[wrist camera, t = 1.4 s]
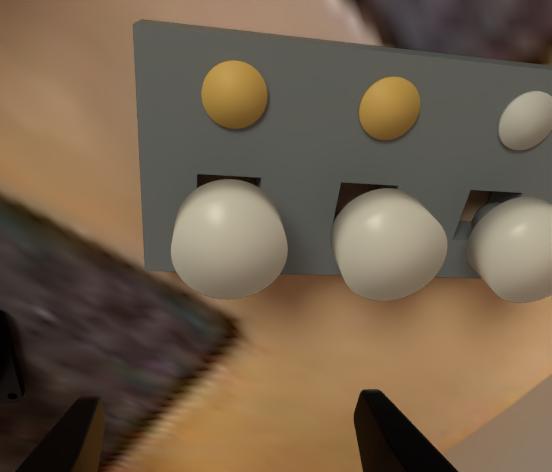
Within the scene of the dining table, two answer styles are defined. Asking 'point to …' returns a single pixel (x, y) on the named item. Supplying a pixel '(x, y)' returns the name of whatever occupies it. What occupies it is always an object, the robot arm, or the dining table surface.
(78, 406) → the robot arm
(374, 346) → the dining table surface
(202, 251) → the button inner
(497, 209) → the white lever knob
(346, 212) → the button middle
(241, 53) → the board
